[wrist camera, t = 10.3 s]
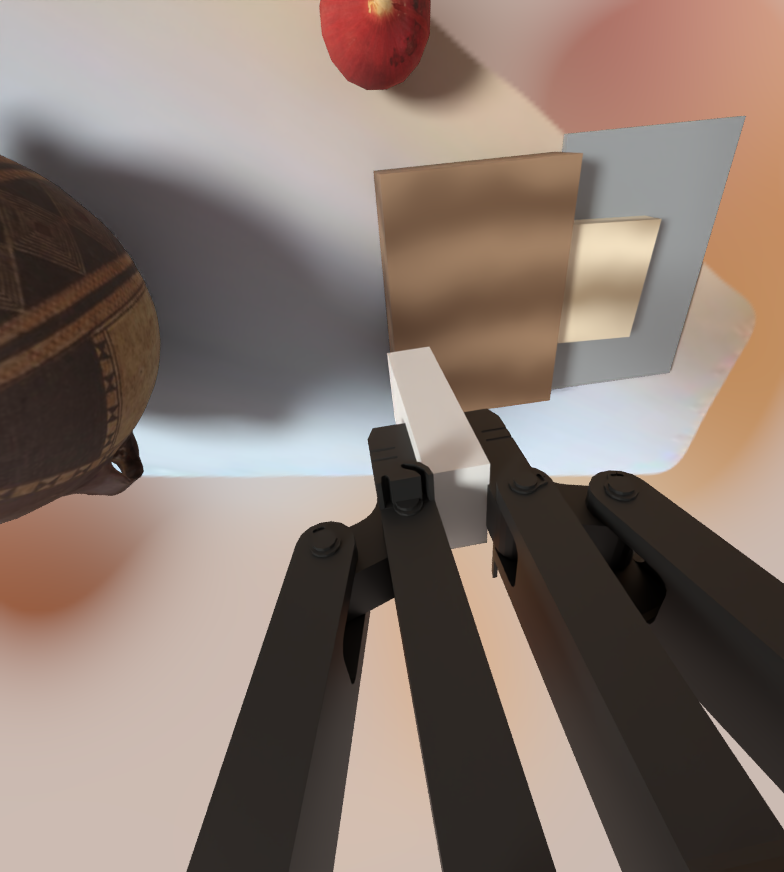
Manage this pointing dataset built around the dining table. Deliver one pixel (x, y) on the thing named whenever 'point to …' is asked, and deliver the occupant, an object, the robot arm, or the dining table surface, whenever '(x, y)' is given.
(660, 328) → the mat
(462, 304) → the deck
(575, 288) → the tile
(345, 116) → the dining table surface
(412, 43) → the onion
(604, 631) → the robot arm
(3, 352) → the vase
